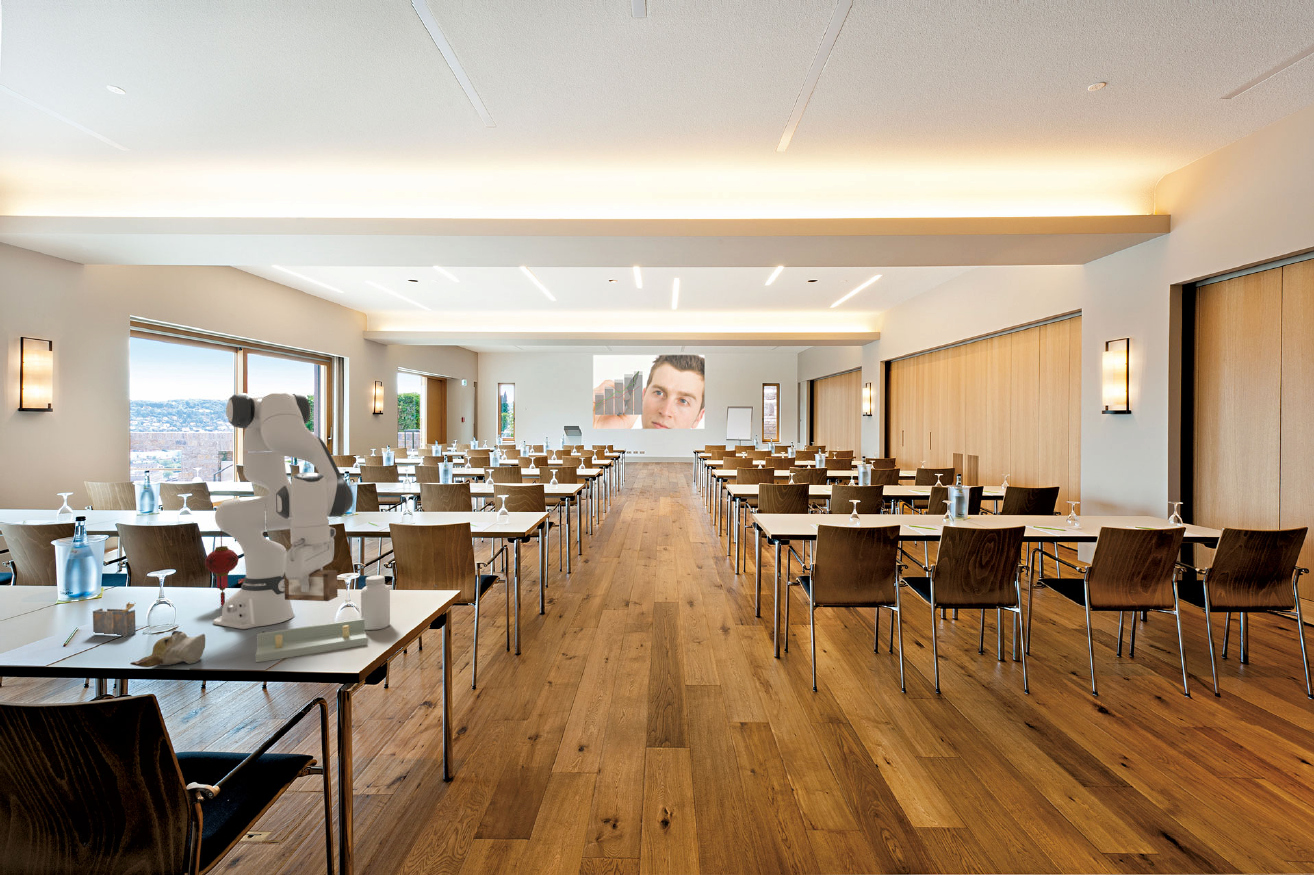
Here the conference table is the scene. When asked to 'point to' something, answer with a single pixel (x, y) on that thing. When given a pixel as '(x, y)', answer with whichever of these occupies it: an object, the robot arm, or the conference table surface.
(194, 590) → the conference table surface
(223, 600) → the lantern
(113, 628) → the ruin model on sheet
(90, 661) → the conference table surface
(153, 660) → the ceramic sculpture
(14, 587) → the conference table surface
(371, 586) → the pill bottle
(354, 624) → the ledge
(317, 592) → the wooden box
